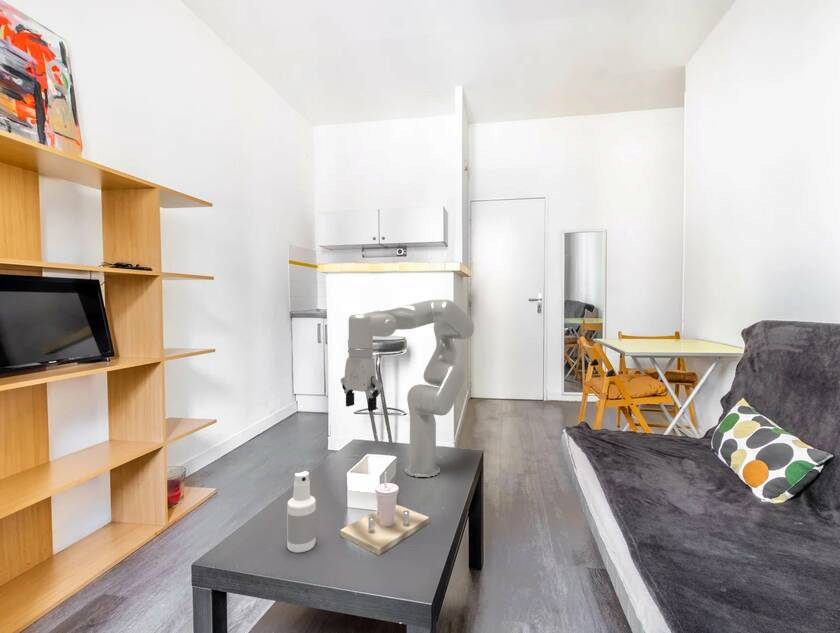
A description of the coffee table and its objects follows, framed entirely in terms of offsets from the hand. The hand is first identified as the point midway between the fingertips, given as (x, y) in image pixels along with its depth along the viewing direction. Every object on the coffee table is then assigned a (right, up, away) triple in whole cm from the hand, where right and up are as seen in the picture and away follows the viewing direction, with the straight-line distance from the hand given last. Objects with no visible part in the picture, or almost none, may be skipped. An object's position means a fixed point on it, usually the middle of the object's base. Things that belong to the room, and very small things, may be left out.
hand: (360, 407), depth 132 cm
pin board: (+9, -28, -19) cm, 36 cm away
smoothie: (+10, -27, -20) cm, 35 cm away
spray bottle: (-11, -28, -28) cm, 41 cm away
